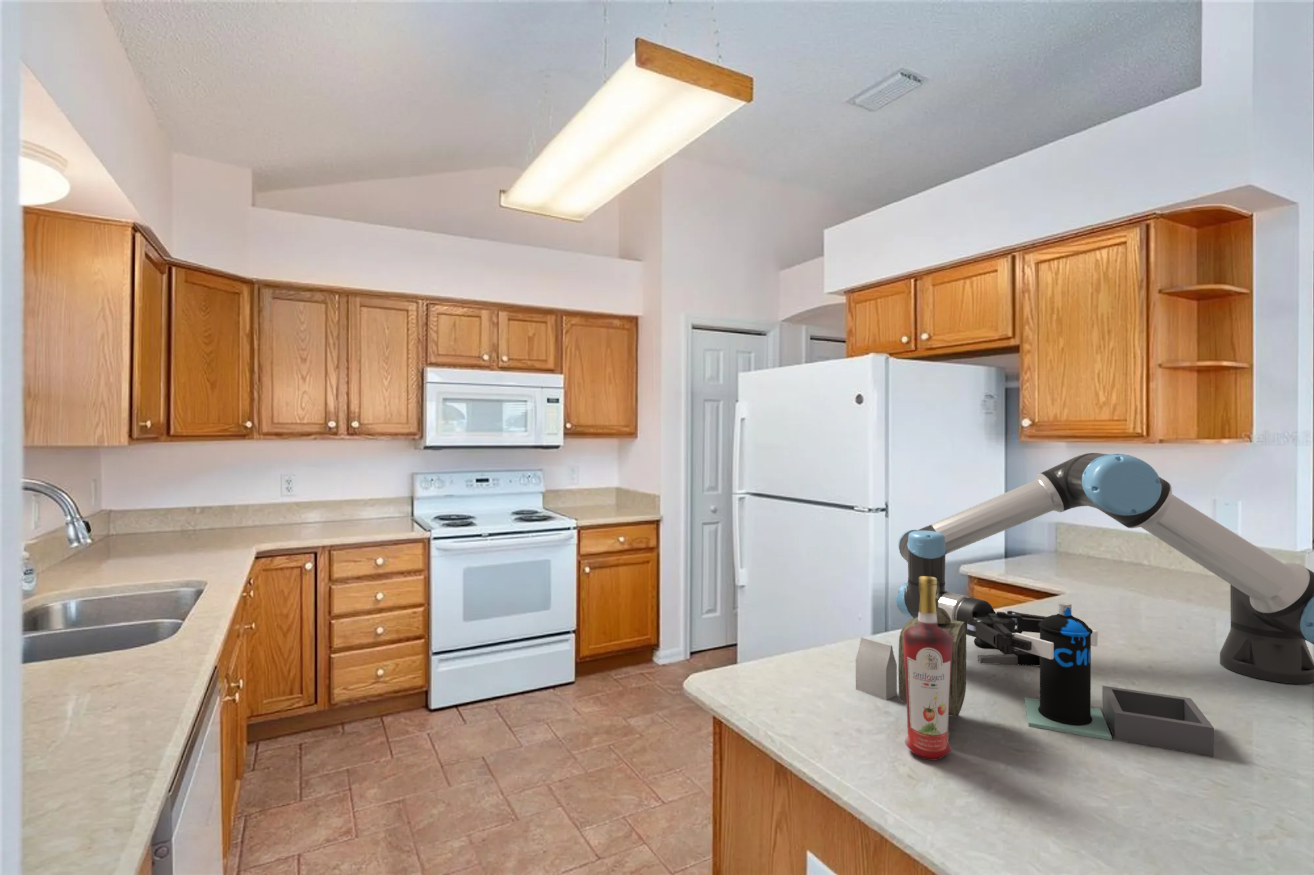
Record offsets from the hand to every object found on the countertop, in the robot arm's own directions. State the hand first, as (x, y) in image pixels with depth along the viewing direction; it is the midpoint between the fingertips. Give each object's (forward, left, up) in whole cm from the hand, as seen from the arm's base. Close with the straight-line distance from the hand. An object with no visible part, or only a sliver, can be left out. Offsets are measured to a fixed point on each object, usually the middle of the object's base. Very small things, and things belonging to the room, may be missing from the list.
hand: (1075, 644), depth 115 cm
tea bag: (+33, +1, -14) cm, 36 cm away
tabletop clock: (+22, +11, -14) cm, 29 cm away
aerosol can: (+1, -1, -13) cm, 14 cm away
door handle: (+9, -33, -14) cm, 37 cm away
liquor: (+22, +23, -14) cm, 35 cm away
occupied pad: (+1, -1, -14) cm, 14 cm away
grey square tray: (-12, -2, -14) cm, 18 cm away
